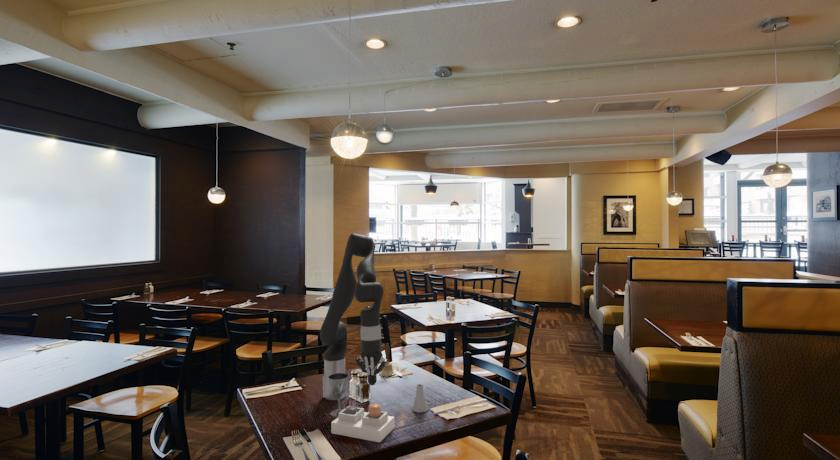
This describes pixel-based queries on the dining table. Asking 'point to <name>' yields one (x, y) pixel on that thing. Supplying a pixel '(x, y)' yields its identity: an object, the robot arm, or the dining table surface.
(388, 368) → the hand bell
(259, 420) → the dining table surface
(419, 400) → the flask
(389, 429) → the console
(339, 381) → the wine glass
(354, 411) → the charcoal button
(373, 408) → the terracotta button
